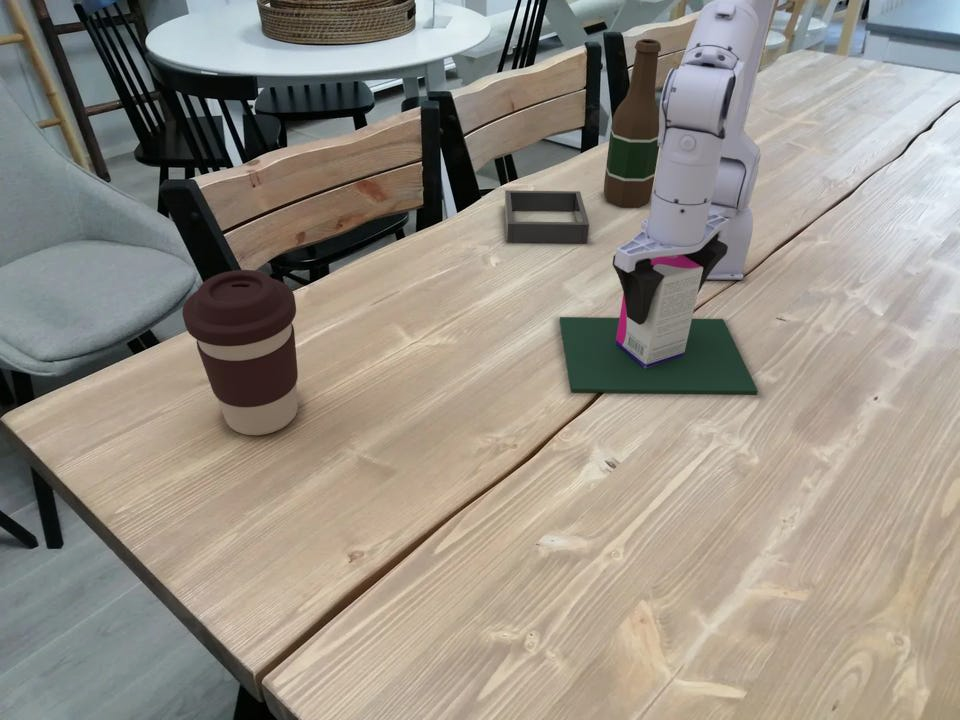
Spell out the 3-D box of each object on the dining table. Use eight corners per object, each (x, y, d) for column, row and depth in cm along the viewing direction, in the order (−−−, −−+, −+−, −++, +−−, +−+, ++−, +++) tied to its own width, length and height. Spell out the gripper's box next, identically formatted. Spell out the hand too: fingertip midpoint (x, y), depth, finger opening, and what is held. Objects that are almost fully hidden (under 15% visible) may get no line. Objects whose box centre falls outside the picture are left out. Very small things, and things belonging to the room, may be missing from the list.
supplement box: (686, 355, 84) (705, 267, 77) (644, 369, 82) (661, 279, 75) (653, 330, 88) (669, 243, 81) (613, 343, 86) (626, 255, 79)
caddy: (578, 209, 116) (580, 191, 114) (587, 243, 107) (589, 224, 105) (504, 208, 116) (505, 190, 114) (506, 242, 107) (507, 223, 105)
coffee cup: (262, 460, 70) (233, 330, 61) (190, 423, 74) (153, 295, 65) (331, 404, 77) (314, 279, 68) (262, 372, 81) (238, 250, 72)
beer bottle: (596, 203, 118) (615, 44, 103) (608, 185, 123) (628, 32, 109) (645, 212, 115) (671, 50, 101) (654, 193, 121) (681, 38, 107)
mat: (722, 322, 91) (723, 318, 90) (757, 394, 79) (758, 390, 79) (559, 320, 90) (559, 316, 90) (571, 392, 79) (571, 388, 79)
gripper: (701, 164, 79) (679, 275, 87) (600, 195, 72) (586, 312, 80) (755, 187, 74) (726, 302, 82) (652, 222, 68) (632, 343, 76)
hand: (660, 309), depth 81 cm, fingers open, 7 cm apart
